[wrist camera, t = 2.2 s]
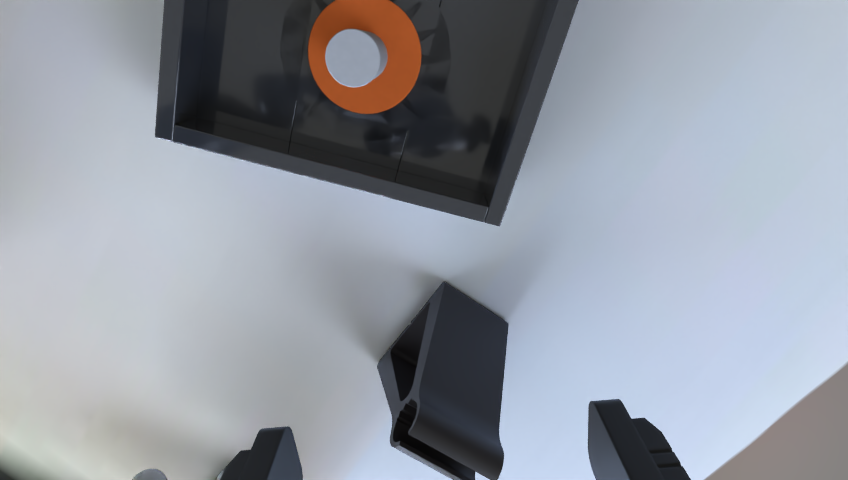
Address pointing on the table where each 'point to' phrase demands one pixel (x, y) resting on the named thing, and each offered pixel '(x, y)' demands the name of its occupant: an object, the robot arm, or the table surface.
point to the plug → (364, 54)
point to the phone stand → (448, 386)
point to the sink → (389, 130)
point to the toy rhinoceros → (157, 475)
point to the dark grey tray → (183, 127)
